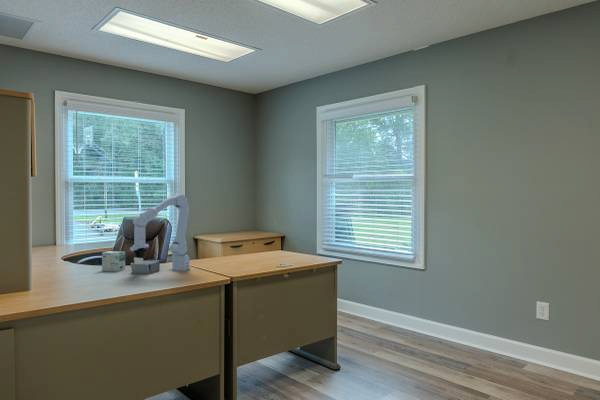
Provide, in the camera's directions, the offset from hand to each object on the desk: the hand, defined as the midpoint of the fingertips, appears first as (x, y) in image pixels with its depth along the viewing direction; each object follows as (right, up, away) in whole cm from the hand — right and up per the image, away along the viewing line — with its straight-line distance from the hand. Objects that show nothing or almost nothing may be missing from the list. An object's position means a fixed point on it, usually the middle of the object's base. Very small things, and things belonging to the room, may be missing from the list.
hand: (139, 262), depth 232 cm
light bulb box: (-19, -6, +9) cm, 22 cm away
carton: (+1, -7, +7) cm, 9 cm away
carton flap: (0, -6, +1) cm, 6 cm away
